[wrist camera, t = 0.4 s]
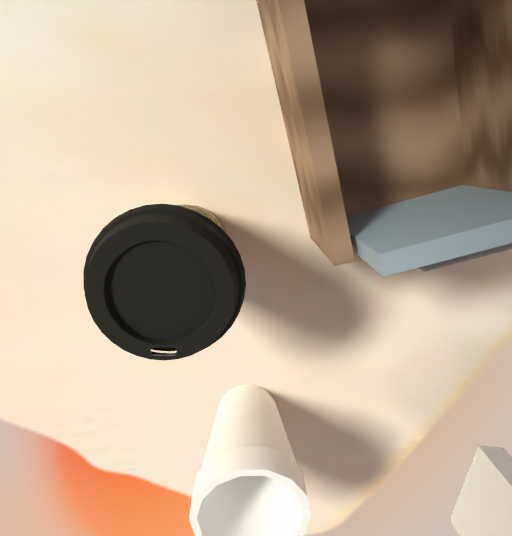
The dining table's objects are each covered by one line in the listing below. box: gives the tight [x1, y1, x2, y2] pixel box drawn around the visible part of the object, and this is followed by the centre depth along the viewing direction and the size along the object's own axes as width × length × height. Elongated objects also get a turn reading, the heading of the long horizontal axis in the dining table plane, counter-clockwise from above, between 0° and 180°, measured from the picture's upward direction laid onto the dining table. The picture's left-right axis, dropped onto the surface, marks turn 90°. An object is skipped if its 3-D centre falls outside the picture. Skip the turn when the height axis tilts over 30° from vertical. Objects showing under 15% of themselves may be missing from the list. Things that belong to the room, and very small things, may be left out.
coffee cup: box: [84, 204, 246, 360], centre depth 29 cm, size 10×10×15 cm
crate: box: [257, 0, 512, 266], centre depth 28 cm, size 22×16×10 cm
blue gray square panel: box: [346, 185, 512, 277], centre depth 29 cm, size 2×12×12 cm, turn 105°
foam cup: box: [189, 385, 311, 536], centre depth 36 cm, size 10×9×13 cm
